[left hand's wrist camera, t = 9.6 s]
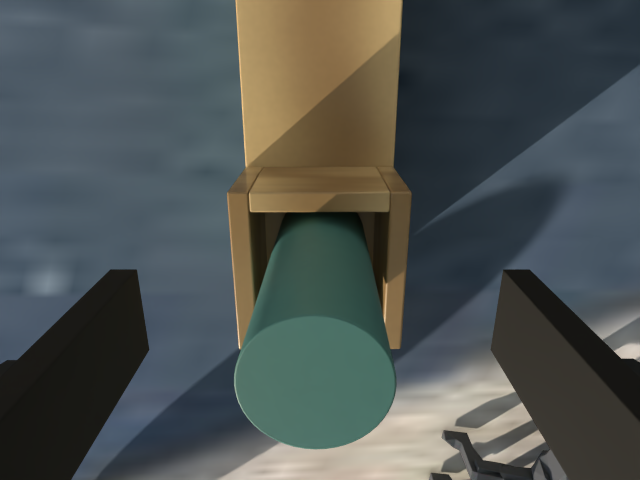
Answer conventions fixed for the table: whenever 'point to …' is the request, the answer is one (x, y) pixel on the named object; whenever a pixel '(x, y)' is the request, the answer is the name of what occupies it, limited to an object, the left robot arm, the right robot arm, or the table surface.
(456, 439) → the toy
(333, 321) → the peg
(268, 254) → the peg board
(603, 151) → the table surface
